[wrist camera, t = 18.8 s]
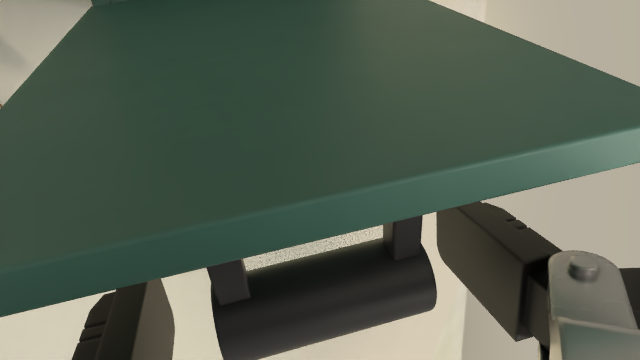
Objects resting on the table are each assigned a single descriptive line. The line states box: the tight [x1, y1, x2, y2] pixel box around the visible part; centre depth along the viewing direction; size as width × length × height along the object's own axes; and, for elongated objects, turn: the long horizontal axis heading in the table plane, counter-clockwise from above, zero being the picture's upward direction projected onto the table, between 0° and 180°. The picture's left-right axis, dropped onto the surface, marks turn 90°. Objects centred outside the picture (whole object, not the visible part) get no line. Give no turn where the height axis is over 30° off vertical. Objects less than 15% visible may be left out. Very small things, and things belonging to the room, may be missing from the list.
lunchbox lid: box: [0, 0, 640, 360], centre depth 15 cm, size 17×13×6 cm
